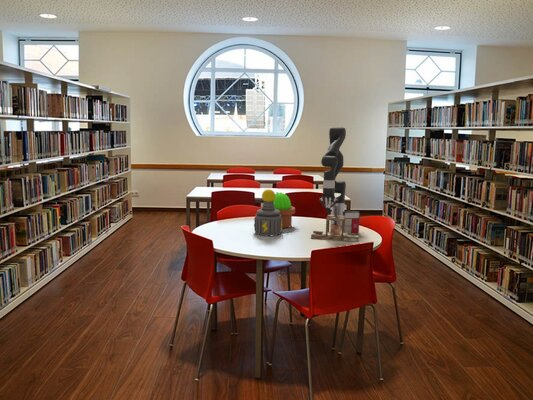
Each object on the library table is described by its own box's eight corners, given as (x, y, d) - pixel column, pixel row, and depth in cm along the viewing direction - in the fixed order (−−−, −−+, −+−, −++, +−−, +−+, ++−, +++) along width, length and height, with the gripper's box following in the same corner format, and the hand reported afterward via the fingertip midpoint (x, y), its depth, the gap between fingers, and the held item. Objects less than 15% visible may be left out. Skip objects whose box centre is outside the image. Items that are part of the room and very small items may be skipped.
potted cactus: (292, 229, 337) (293, 194, 334) (262, 228, 341) (262, 193, 338) (296, 223, 359) (297, 190, 355) (267, 222, 362) (268, 189, 359)
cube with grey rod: (322, 235, 311) (323, 206, 308) (323, 232, 319) (324, 204, 317) (347, 237, 307) (348, 207, 305) (347, 234, 316) (349, 205, 313)
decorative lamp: (279, 237, 314) (280, 191, 309) (251, 235, 317) (251, 190, 313) (284, 231, 332) (284, 188, 328) (257, 229, 335) (258, 187, 331)
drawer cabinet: (311, 238, 311) (311, 217, 309) (313, 234, 323) (313, 214, 321) (358, 241, 305) (358, 219, 303) (358, 237, 316) (359, 216, 314)
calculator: (343, 234, 326) (344, 212, 323) (341, 232, 330) (342, 211, 328) (359, 233, 328) (360, 212, 326) (356, 232, 332) (357, 211, 330)
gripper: (339, 186, 312) (338, 212, 315) (319, 185, 315) (318, 211, 317) (338, 188, 305) (337, 214, 307) (317, 187, 308) (317, 213, 310)
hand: (327, 213), depth 312 cm, fingers closed
